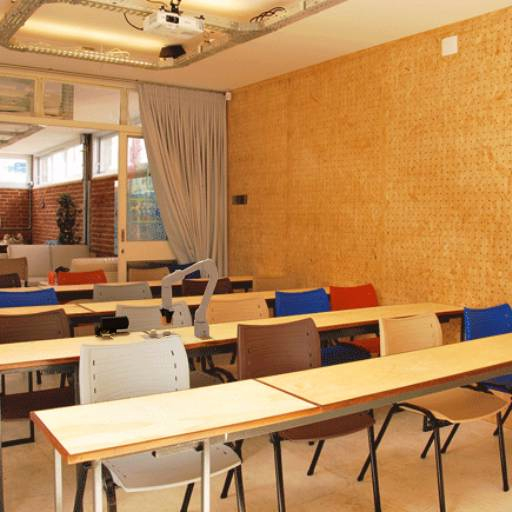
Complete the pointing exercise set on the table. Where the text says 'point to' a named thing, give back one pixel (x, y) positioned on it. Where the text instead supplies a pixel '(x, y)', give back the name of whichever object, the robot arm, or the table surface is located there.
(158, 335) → the breaker panel
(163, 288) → the robot arm
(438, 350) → the table surface
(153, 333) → the button
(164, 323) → the orange block
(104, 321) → the security camera
